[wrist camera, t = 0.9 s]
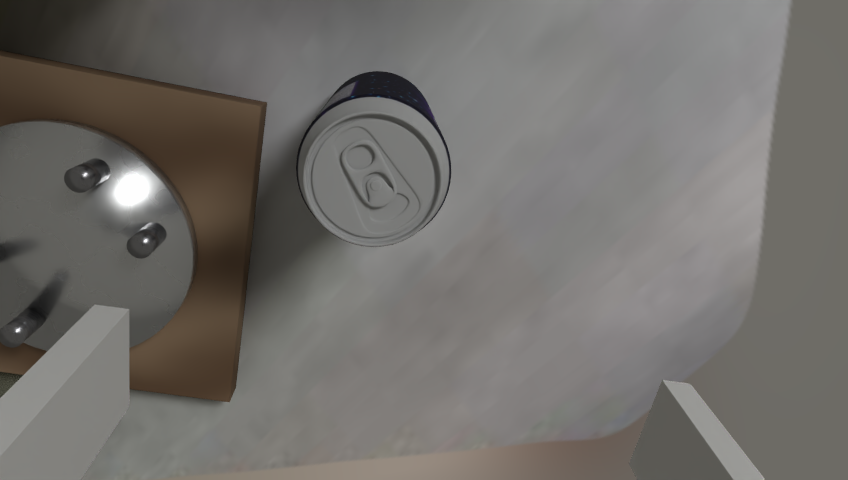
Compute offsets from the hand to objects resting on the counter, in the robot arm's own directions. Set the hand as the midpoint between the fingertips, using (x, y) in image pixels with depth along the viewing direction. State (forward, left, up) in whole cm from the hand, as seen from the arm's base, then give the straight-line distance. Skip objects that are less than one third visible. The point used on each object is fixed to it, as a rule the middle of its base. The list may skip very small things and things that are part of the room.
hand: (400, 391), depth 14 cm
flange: (+6, -16, -18) cm, 25 cm away
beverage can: (-3, -1, -20) cm, 20 cm away
